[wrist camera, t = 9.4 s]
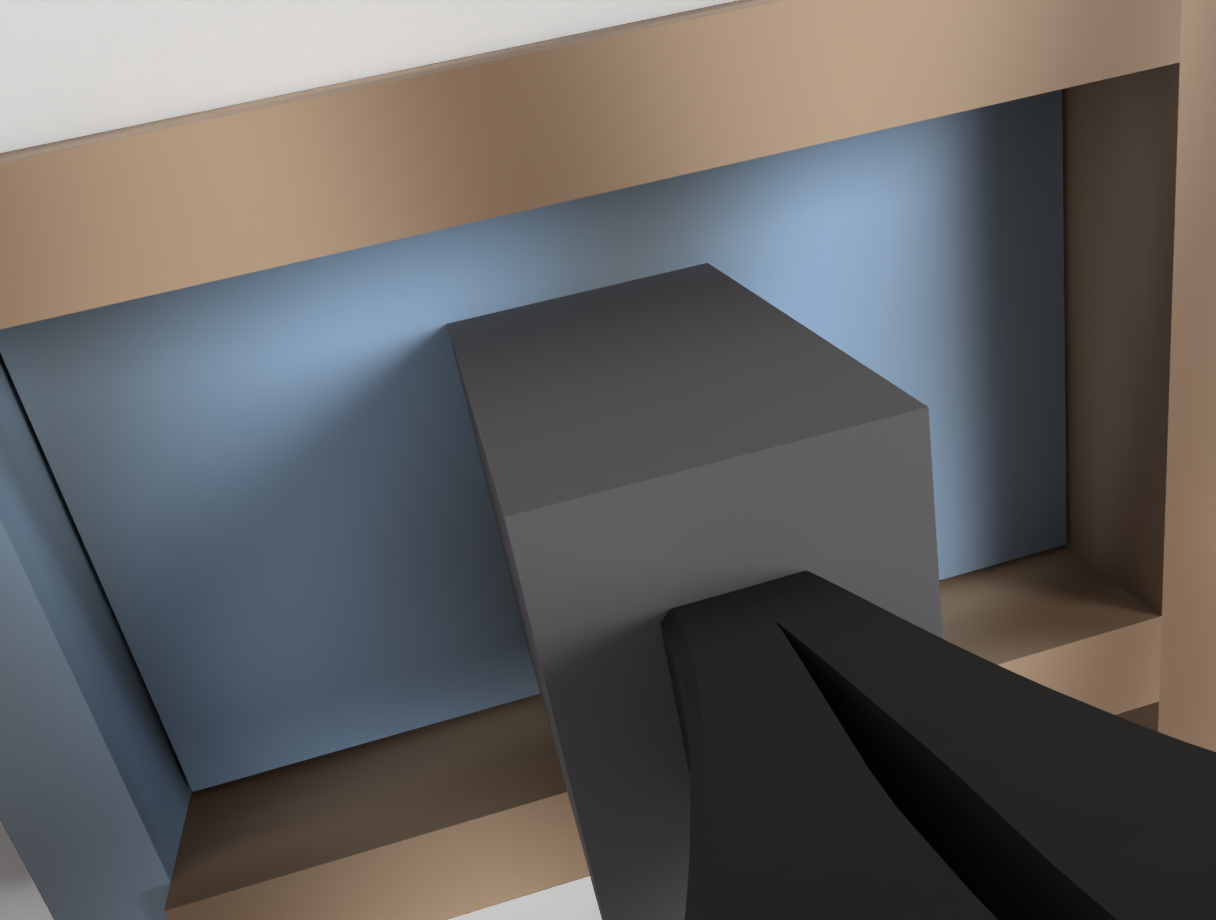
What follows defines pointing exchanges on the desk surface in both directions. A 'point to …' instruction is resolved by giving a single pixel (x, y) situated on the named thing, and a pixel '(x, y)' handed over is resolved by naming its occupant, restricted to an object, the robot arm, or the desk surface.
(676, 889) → the tall grey box
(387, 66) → the desk surface
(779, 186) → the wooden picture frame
